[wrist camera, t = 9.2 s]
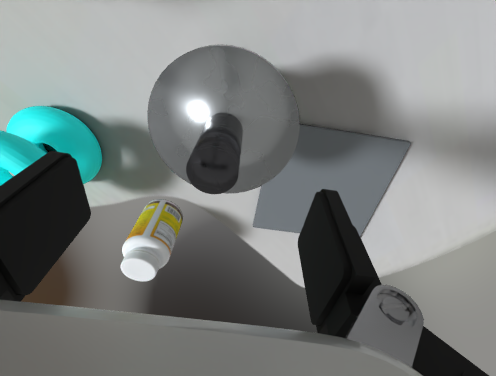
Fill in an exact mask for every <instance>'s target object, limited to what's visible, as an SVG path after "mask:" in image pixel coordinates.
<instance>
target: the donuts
mask: <svg viewBox="0 0 496 376" xmlns="http://www.w3.org/2000/svg"><path fill="white" fill-rule="evenodd" d="M43 143H45V144H48V145H50V146H51V147H53V148H54V149H55V150H56V151H57V152H62V153H68V154H70V155H71V156H72V158H75V159H76V161H77V164H78V168H79V171H80V175H81V179H82V182H83V184H85V183H87V182H89V181H90V180H92V179H93V178H94V177H95V176H96V175H97V174H98V172H99V170H100V167H101V164H102V153H101V148H100V145H99V143H98V141H97V139H96V137H95V136H94V134H93V133H92V132H91V130H90V129H89V128H88V127H87V126H86V125H85V124H84V123H83V122H81V121H80V120H79V119H77V118H76V117H74V116H73V115H71V114H69V113H67V112H65V111H62V110H60V109H57V108H53V107H48V106H33V107H28V108H25V109H23V110H21V111H19V112H18V113H16V114H15V115H14V116H13V117H12V118H11V120H10V122H9V124H8V126H7V131H6V132H4V131H0V186H1V185H2V184H4V183H5V182H7V181H8V180H9V179H11V178H12V177H13V176H12V175H11V174H10V173H9V171H10V172H11V173H13V174H14V175H17V174H18V173H19V172H21V171H22V170H24V169H25V168H27V167H28V166H29V165H31V164H32V163H34V162H35V161H37V160H38V159H40V158H41V157H42V156H44V155H45V154H47V153H48V152H47V150H46V149H45V148H44V145H43Z"/></svg>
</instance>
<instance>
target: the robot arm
mask: <svg viewBox="0 0 496 376" xmlns="http://www.w3.org/2000/svg"><path fill="white" fill-rule="evenodd" d="M90 215H91V211H90V207H89V204H88V200H87V196H86V193H85V189H84V186H83V182H82V179H81V175H80V171H79V168H78V164H77V161H76V159H75V158H72V156H71V155H70V154H68V153H62V152H55V151H50V152H48V153H47V154H45V155H44V156H42V157H41V158H40V159H38V160H37V161H35V162H34V163H32V164H31V165H29V166H28V167H27V168H25V169H24V170H22V171H21V172H19V173H18V174H17V175H15V176H14V177H12V178H11V179H9V180H8V181H7V182H5V183H4V184H2V185H1V186H0V376H489V375H487V374H486V373H485V372H483V371H482V370H481V369H479V368H478V367H477V366H475V365H474V364H473V363H471V362H470V361H469V360H467V359H466V358H465V357H463V356H462V355H461V354H459V353H458V352H457V351H456V350H454V349H453V348H452V347H450V346H449V345H448V344H446V343H445V342H444V341H442V340H441V339H440V338H438V337H437V336H436V335H434V334H433V333H432V332H431V331H429V330H428V329H426V328H425V327H424V326H423V323H424V322H423V321H424V319H423V315H422V312H421V310H420V309H419V307H418V305H417V304H416V303H415V302H414V301H413V299H412V298H411V297H410V296H408V295H407V294H406V293H404V292H403V291H401V290H400V289H398V288H396V287H393V286H390V285H382V284H381V282H380V280H379V278H378V276H377V273H376V271H375V269H374V267H373V265H372V262H371V260H370V258H369V256H368V254H367V251H366V249H365V247H364V245H363V242H362V240H361V238H360V236H359V234H358V231H357V229H356V228H355V227H354V226H353V225H352V222H351V220H350V218H349V216H348V213H347V211H346V209H345V207H344V204H343V202H342V200H341V198H340V195H339V193H338V192H337V191H335V190H328V189H322V190H321V191H320V192H316V194H315V196H314V199H313V201H312V204H311V207H310V209H309V212H308V214H307V217H306V220H305V222H304V225H303V228H302V230H301V233H300V235H299V238H298V249H299V255H300V261H301V266H302V272H303V278H304V283H305V289H306V295H307V301H308V306H309V311H310V317H311V322H312V324H313V325H316V327H317V332H318V333H313V332H304V331H296V330H288V329H280V328H272V327H264V326H255V325H245V324H236V323H226V322H217V321H208V320H198V319H189V318H179V317H170V316H159V315H150V314H140V313H130V312H120V311H111V310H100V309H91V308H81V307H70V306H60V305H50V304H38V303H29V302H21V300H22V299H23V298H24V296H25V295H28V294H30V293H32V291H33V290H34V289H35V288H36V287H37V285H38V284H39V283H40V282H41V280H42V279H43V278H44V276H45V275H46V274H47V273H48V271H49V270H50V269H51V268H52V266H53V265H54V264H55V262H56V261H57V260H58V259H59V257H60V256H61V255H62V254H63V252H64V251H65V250H66V248H67V247H68V246H69V245H70V243H71V242H72V241H73V240H74V238H75V237H76V236H77V234H78V233H79V232H80V230H81V229H82V228H83V227H84V226H85V224H86V223H87V222H88V220H89V219H90Z"/></svg>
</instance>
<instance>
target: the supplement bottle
mask: <svg viewBox="0 0 496 376" xmlns="http://www.w3.org/2000/svg"><path fill="white" fill-rule="evenodd" d="M182 219H183V215H182V212H181V210H180V208H179V207H178V206H177V205H176V204H174V203H172V202H170V201H168V200H162V199H159V200H154V201H151V202H150V203H148V204H147V206H146V207H145V208H144V210H143V212H142V213H141V215H140V217H139V219H138V220H137V222H136V224H135V226H134V227H133V229H132V231H131V233H130V234H129V236H128V238H127V239H126V241H125V243H124V245H123V248H122V253H123V256H124V259H123V261H122V263H121V270H122V272H123V273H124V274H125V275H126V276H127V277H129V278H131V279H133V280H136V281H148V280H151V279H152V278H154V277H155V275H156V273H157V271H158V269H159V268H162V267H163V266H165V265H166V263H167V262H168V260H169V258H170V255H171V252H172V249H173V246H174V243H175V241H176V238H177V235H178V232H179V229H180V226H181V223H182Z"/></svg>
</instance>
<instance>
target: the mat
mask: <svg viewBox="0 0 496 376" xmlns="http://www.w3.org/2000/svg"><path fill="white" fill-rule="evenodd" d="M410 144H411V143H410V142H409V141H405V140H399V139H392V138H386V137H379V136H373V135H367V134H360V133H354V132H347V131H341V130H335V129H328V128H322V127H315V126H309V125H303V124H300V128H299V137H298V142H297V145H296V148H295V151H294V153H293V155H292V157H291V159H290V160H289V162H288V163H287V165H286V166H285V167H284V168H283V170H282V171H281V172H280V173H279V174H278V175H277V176H275V177H274V178H273V179H272V180H270V181H269V182H267V183H265V184H264V185H262V186H261V190H260V195H259V199H258V204H257V209H256V213H255V218H254V223H253V227H255V228H263V229H271V230H279V231H286V232H294V233H301V230H302V228H303V225H304V222H305V220H306V217H307V214H308V212H309V209H310V207H311V204H312V201H313V199H314V196H315V194H316V192H320V191H321V190H322V189H328V190H335V191H337V192H338V193H339V195H340V198H341V200H342V202H343V204H344V207H345V209H346V211H347V213H348V216H349V218H350V220H351V222H352V225H353V226H354V227H355V228H356V229H357V231H358V234H359V236H361V234H362V232H363V230H364V229H365V227H366V225H367V223H368V221H369V219H370V218H371V216H372V214H373V212H374V210H375V208H376V207H377V205H378V203H379V201H380V199H381V197H382V196H383V194H384V192H385V190H386V188H387V186H388V185H389V183H390V181H391V179H392V177H393V175H394V174H395V172H396V170H397V168H398V166H399V164H400V163H401V161H402V159H403V157H404V155H405V153H406V152H407V150H408V148H409V146H410Z"/></svg>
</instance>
